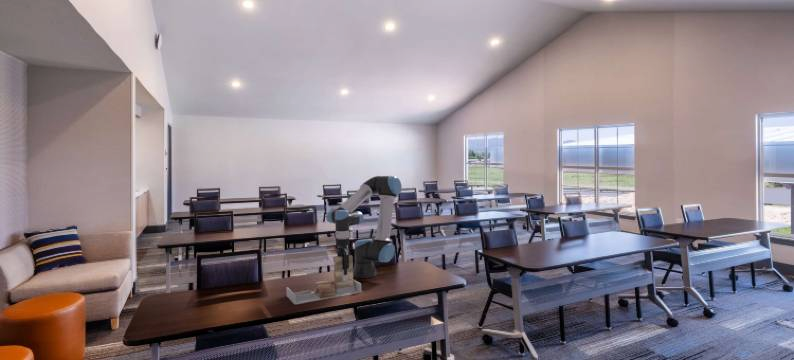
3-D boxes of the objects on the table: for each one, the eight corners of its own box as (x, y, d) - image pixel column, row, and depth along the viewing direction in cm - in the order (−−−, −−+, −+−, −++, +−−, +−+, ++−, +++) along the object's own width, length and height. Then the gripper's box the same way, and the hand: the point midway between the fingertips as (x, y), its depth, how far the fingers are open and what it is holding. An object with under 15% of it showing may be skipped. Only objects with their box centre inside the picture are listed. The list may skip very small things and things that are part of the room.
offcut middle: (315, 289, 237) (314, 286, 237) (327, 287, 241) (327, 283, 241) (322, 294, 228) (322, 290, 228) (335, 292, 232) (335, 288, 232)
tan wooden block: (334, 287, 240) (333, 256, 239) (350, 284, 244) (350, 254, 244) (336, 288, 237) (335, 257, 236) (353, 285, 241) (352, 255, 241)
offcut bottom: (313, 292, 239) (313, 289, 239) (327, 290, 242) (327, 286, 242) (320, 298, 228) (320, 294, 228) (335, 295, 232) (335, 292, 232)
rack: (286, 298, 234) (286, 287, 233) (350, 287, 251) (350, 277, 251) (294, 306, 220) (294, 295, 219) (361, 294, 237) (361, 283, 237)
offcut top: (315, 285, 238) (315, 281, 238) (327, 283, 241) (327, 280, 241) (319, 289, 230) (319, 286, 230) (331, 288, 232) (330, 284, 232)
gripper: (330, 236, 245) (332, 277, 246) (341, 240, 230) (342, 284, 231) (343, 235, 248) (344, 275, 249) (354, 239, 234) (355, 282, 235)
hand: (343, 279), depth 240 cm, fingers closed on tan wooden block, 3 cm apart
